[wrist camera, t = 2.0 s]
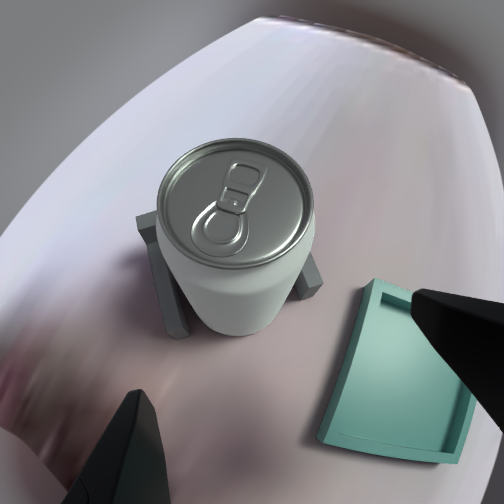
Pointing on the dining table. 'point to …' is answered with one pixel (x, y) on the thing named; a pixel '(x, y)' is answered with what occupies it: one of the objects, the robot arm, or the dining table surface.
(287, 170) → the can
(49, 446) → the dining table surface
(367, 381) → the tray
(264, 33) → the dining table surface
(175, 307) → the bay
